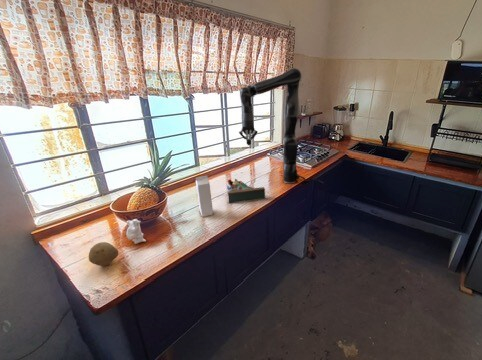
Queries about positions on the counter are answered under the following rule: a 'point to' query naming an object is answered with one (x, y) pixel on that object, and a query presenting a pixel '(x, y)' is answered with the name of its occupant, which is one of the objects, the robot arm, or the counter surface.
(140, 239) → the koala figurine
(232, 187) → the sneaker
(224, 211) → the counter surface
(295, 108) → the robot arm
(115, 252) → the brown rounded lump
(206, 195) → the milk
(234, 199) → the shoe rail
